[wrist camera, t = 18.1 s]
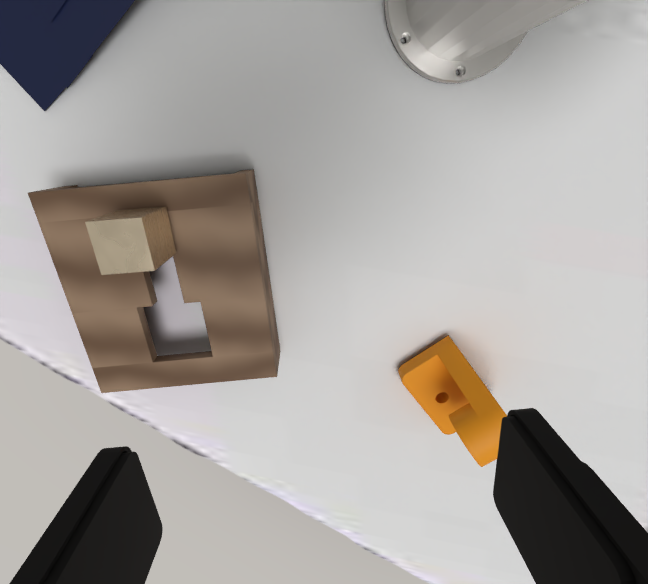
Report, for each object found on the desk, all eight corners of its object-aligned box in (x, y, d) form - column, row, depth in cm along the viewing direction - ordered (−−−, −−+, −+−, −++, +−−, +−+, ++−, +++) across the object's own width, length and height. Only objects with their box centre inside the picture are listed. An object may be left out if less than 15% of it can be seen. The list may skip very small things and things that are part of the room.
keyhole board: (64, 186, 35) (27, 192, 31) (253, 169, 36) (245, 173, 31) (123, 365, 43) (101, 393, 38) (280, 351, 43) (276, 376, 38)
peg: (141, 199, 36) (81, 219, 26) (187, 195, 36) (143, 214, 27) (152, 243, 38) (99, 277, 28) (196, 239, 38) (158, 273, 28)
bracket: (393, 365, 44) (422, 439, 33) (445, 331, 43) (494, 397, 32) (439, 421, 48) (479, 506, 37) (489, 392, 46) (546, 471, 35)
